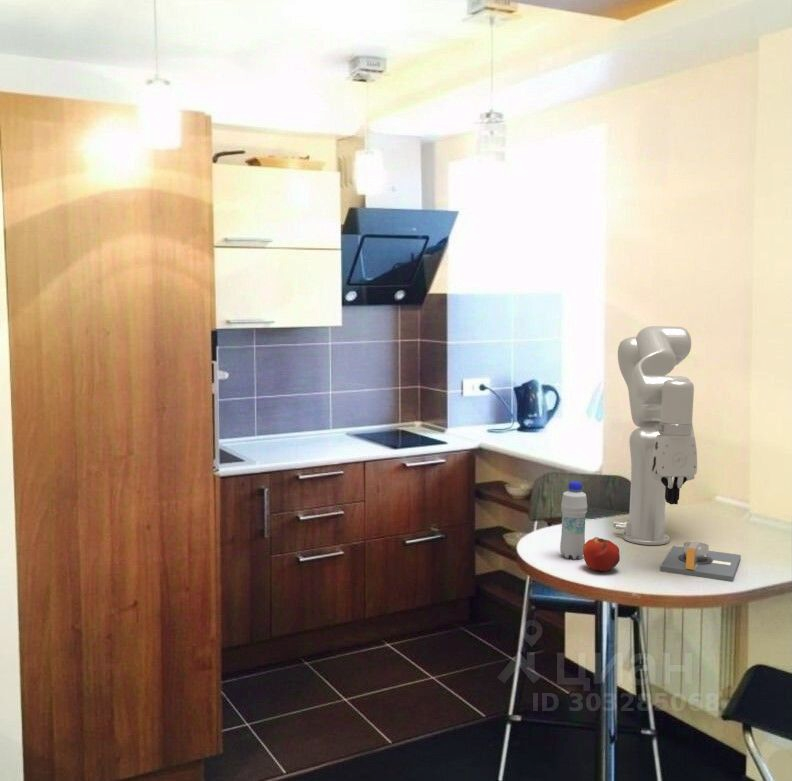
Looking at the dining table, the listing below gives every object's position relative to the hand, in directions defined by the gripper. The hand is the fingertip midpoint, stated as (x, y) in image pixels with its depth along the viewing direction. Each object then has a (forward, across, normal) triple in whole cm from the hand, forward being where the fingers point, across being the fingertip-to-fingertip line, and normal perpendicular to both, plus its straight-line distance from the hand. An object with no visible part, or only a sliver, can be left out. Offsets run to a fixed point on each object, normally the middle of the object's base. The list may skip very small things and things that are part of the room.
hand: (671, 502), depth 227 cm
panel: (+17, +10, +2) cm, 20 cm away
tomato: (+17, -17, +2) cm, 24 cm away
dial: (+15, +7, 0) cm, 17 cm away
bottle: (+17, -20, +13) cm, 30 cm away
